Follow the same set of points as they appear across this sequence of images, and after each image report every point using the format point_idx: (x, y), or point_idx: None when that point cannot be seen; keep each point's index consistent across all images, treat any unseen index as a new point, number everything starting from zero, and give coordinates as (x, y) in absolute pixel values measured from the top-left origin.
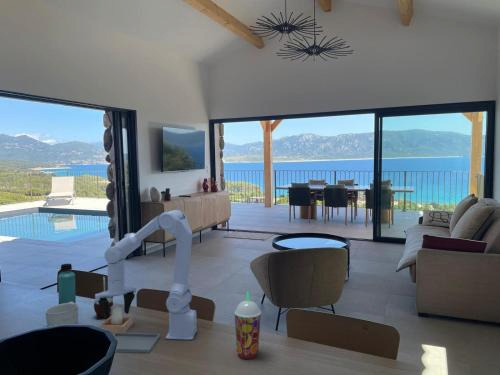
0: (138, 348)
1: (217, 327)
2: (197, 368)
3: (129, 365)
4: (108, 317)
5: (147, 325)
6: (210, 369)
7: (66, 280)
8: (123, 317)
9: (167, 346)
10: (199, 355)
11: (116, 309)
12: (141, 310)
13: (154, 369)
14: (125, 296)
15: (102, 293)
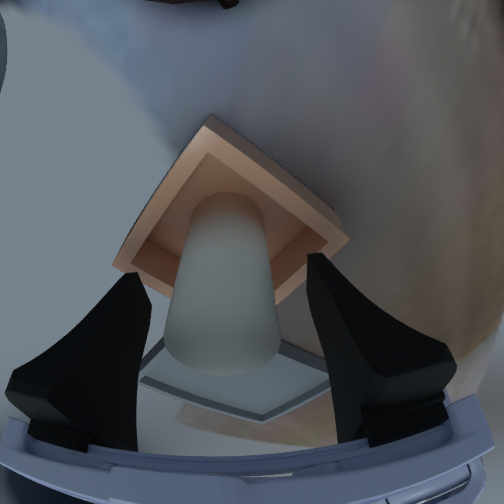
0: (246, 402)
1: (475, 354)
2: (309, 444)
3: (204, 422)
4: (227, 1)
5: (387, 257)
6: (323, 446)
7: None
8: (296, 208)
9: (323, 401)
10: None
11: (211, 367)
12: (471, 25)
13: (246, 437)
14: (351, 399)
15: (60, 491)
